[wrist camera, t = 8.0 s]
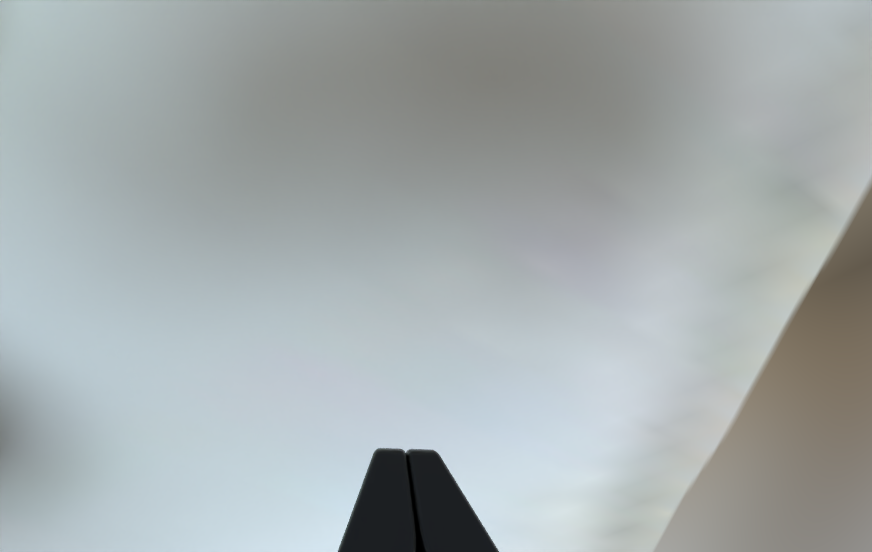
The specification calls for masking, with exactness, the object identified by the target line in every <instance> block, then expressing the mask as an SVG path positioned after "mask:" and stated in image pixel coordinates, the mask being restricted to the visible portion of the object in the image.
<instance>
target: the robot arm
mask: <svg viewBox="0 0 872 552" xmlns="http://www.w3.org/2000/svg"><path fill="white" fill-rule="evenodd" d="M338 552H499V551H498V549H497V548H496V546H495V544H494V543H493V541H492V540H491V538H490V536H489V535H488V533H487V531H486V530H485V528H484V527H483V525H482V523H481V522H480V520H479V518H478V517H477V515H476V514H475V512H474V510H473V509H472V507H471V505H470V504H469V502H468V501H467V499H466V497H465V496H464V494H463V492H462V491H461V489H460V488H459V486H458V484H457V483H456V481H455V479H454V478H453V476H452V475H451V473H450V471H449V470H448V468H447V467H446V465H445V463H444V462H443V460H442V458H441V457H440V455H439V454H438V453H437V452H436V451H434V450H423V449H410V450H408V451H407V452H406V453H405V451H404V450H402V449H389V448H378V449H376V450H375V452H374V454H373V456H372V459H371V462H370V465H369V467H368V470H367V473H366V476H365V478H364V481H363V484H362V487H361V489H360V492H359V495H358V497H357V500H356V503H355V506H354V508H353V511H352V514H351V517H350V519H349V522H348V525H347V528H346V530H345V533H344V536H343V539H342V541H341V544H340V547H339V550H338Z"/></svg>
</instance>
